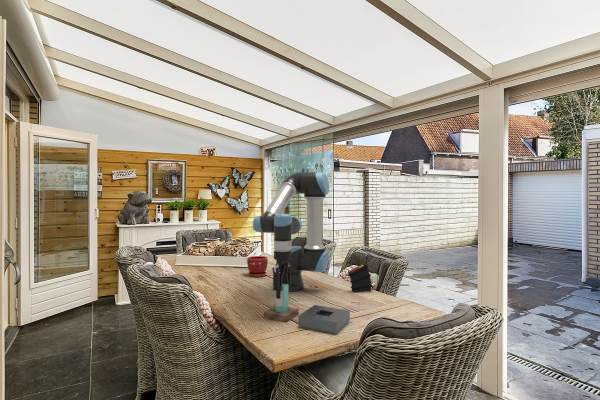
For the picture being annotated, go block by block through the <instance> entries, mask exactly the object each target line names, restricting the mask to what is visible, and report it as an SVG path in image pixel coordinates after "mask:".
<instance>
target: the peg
mask: <svg viewBox="0 0 600 400" xmlns="http://www.w3.org/2000/svg"><path fill="white" fill-rule="evenodd" d="M281 291H283V304H282V306H276V305H275V306H276V312H281V313H285V312H287V311H288V307H289V291H288V284H282V290H281Z"/></svg>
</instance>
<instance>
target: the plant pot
mask: <svg viewBox="0 0 600 400" xmlns="http://www.w3.org/2000/svg"><path fill="white" fill-rule="evenodd" d="M268 258H269V257H267V256H263V255H252V256H248V257H247V258H246V263H247V269H248V271H249V272H248V275H249V276H250V277H252V278H262V277H264V276H265V277H266V275H267V272H266V271H267V268H268V262H269V260H268Z"/></svg>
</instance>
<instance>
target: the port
mask: <svg viewBox="0 0 600 400" xmlns="http://www.w3.org/2000/svg"><path fill="white" fill-rule="evenodd" d="M297 319H298V323H297V324H298V328H302V329H307V330H312V331H316V332H317V331H318V332H323V333H327V334H332V335H337V334H338V333H339V332H340V331H342V330H343V328H344V327H346V326H347V324H349V323H350V321H351V311H350V310H348V309H343V308H342V309H341V308H337V307H330V306H323V305H319V304H318V305H317V304H314V305H312V306H310V307H309V308H308V309H306V310H304V311H303V312H302V313H301V314H300V313H299V315H298V318H297Z"/></svg>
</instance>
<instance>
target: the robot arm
mask: <svg viewBox="0 0 600 400" xmlns="http://www.w3.org/2000/svg"><path fill="white" fill-rule="evenodd" d="M329 182H330V181H329V178H328V176H327V174H326V173H325V172H321V171H320V172H318V171H312V172H311V171H309V172H306V171H305V172H301V171H300V172H295V173H293V174H291V175H288V176H287V177H286V178H285V179H283V181H282V182H281V184H280V185H279V188H278V189H279V190H278V192H277V193H276V195H275V196H274V198H273V199H272V201H271V202H270V203H269V205H268V207H267V208H266V210H265V212H264V213H262V215H257V216H255V217H254V218H253V221H252V227H253V230H254V231H255V232H257V233H265V234H266V233H267V234H268V233H269V234H273V250H274V251H273V260H275V261H276V262H275V266H274V267H272V286H273V287H272V289H273V291H275V306H282V304H283V291H281V290H282V284H288V292H299V291H303V290H304V289H305V283H304V280H303V276H302V271H303V272H313V273H323V272H325V271H326V269H327V266H328V263H329V257H330V255H329V251H328V250H326V246H325V245H324V244H323V225H324V224H323V222H324V219H323V217H324V216H323V215H324V213H323V210H324V209H323V206H324V204H323V203H324V202H323V201H324V200H325V199H326V198H327V197H326V196H327V195H328V194H329V192H330V183H329ZM299 194H303V197H304V199H305V200H306V244H305V245H304V246H303V247H302V246H300V245H296V246H295V245H294V246H292V244H293V243H292V235H295V234H298V233H299V232H300V231H301V230H302V227H303V223H302V220H301V219H300V218H299V217H295V216H292V215H291V214H289V213H284V211H285V209H286V208H287V206H288V204H289V203H290V201H291V199H292V198H294V197H295V196H296V195H299Z"/></svg>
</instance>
